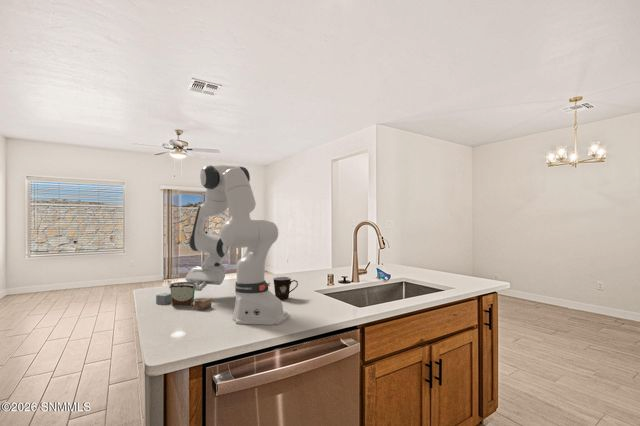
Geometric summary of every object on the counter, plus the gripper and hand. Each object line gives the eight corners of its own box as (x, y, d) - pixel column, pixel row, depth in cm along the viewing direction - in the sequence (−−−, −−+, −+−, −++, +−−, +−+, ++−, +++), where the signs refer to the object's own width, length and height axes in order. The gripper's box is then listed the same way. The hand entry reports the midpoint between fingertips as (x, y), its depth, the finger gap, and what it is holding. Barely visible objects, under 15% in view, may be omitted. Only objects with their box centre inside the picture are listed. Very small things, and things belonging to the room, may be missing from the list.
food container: (201, 303, 144) (201, 281, 144) (194, 306, 137) (194, 284, 138) (176, 302, 145) (176, 281, 145) (168, 305, 139) (169, 283, 139)
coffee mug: (270, 300, 148) (271, 279, 148) (276, 296, 157) (276, 276, 157) (294, 301, 146) (294, 280, 146) (298, 297, 155) (298, 277, 155)
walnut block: (211, 307, 136) (211, 298, 136) (203, 310, 132) (203, 301, 132) (202, 306, 138) (202, 297, 138) (194, 309, 133) (194, 300, 133)
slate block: (172, 301, 146) (172, 293, 146) (164, 304, 142) (164, 295, 142) (164, 301, 148) (164, 292, 148) (156, 303, 143) (156, 295, 143)
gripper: (191, 262, 160) (176, 285, 150) (224, 264, 154) (212, 287, 144) (196, 270, 164) (183, 292, 154) (229, 271, 158) (218, 295, 148)
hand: (197, 290), depth 149 cm, fingers closed
